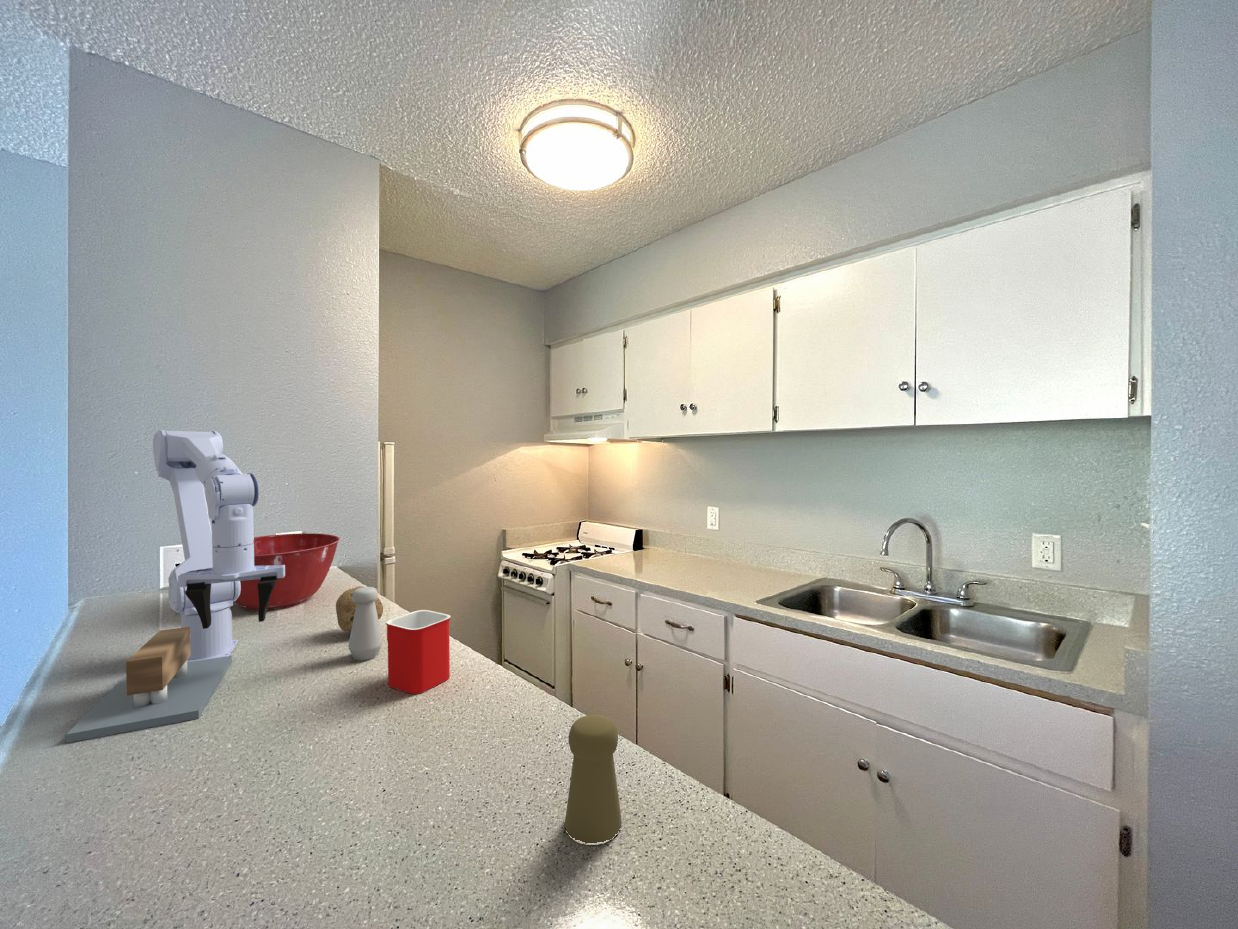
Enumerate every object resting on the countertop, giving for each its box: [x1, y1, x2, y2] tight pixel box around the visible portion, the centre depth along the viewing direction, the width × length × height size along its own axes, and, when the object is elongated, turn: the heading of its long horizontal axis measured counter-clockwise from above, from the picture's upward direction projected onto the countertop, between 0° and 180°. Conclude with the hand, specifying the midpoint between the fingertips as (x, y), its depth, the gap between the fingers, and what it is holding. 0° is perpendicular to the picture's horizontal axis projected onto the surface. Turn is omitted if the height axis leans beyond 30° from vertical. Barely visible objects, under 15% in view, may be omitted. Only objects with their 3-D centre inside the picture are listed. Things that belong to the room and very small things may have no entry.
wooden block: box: [125, 627, 191, 696], centre depth 81 cm, size 14×4×5 cm, turn 27°
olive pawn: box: [564, 714, 623, 843], centre depth 54 cm, size 6×6×11 cm
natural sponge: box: [335, 586, 384, 635], centre depth 109 cm, size 9×9×10 cm
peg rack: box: [65, 655, 233, 744], centre depth 81 cm, size 22×14×4 cm, turn 27°
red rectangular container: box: [385, 609, 452, 695], centre depth 88 cm, size 12×8×11 cm
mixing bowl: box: [233, 532, 341, 611], centre depth 131 cm, size 28×28×15 cm
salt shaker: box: [347, 586, 383, 662], centre depth 97 cm, size 6×6×13 cm
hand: (235, 623), depth 88 cm, fingers open, 7 cm apart
